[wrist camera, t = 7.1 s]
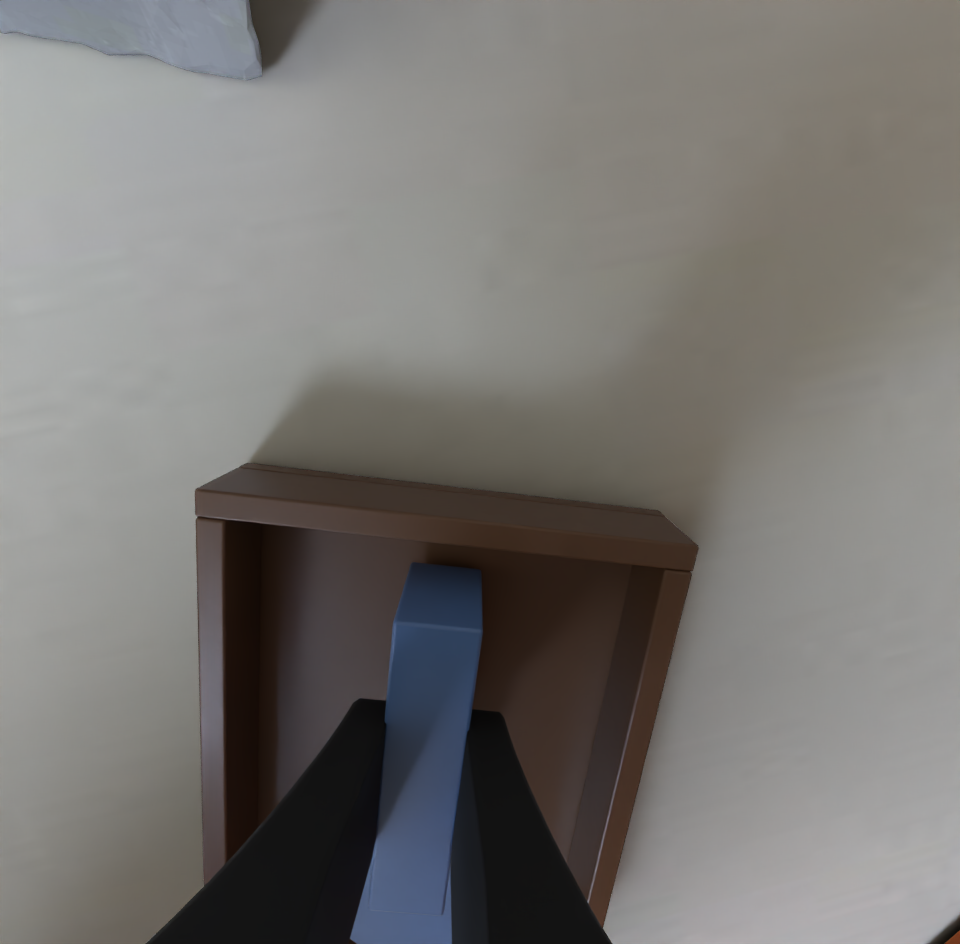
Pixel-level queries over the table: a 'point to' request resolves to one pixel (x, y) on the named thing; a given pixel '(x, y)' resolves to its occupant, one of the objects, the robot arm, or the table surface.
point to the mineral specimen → (148, 30)
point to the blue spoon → (422, 756)
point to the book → (954, 939)
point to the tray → (368, 633)
